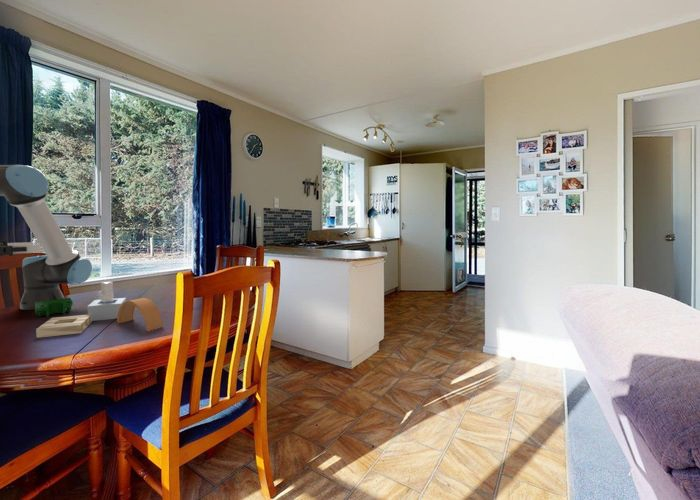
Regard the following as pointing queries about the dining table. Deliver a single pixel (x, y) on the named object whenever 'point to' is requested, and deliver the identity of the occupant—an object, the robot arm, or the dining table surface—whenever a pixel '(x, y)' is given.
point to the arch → (147, 310)
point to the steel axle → (107, 292)
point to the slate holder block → (105, 309)
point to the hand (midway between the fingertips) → (36, 247)
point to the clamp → (53, 306)
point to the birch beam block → (64, 326)
